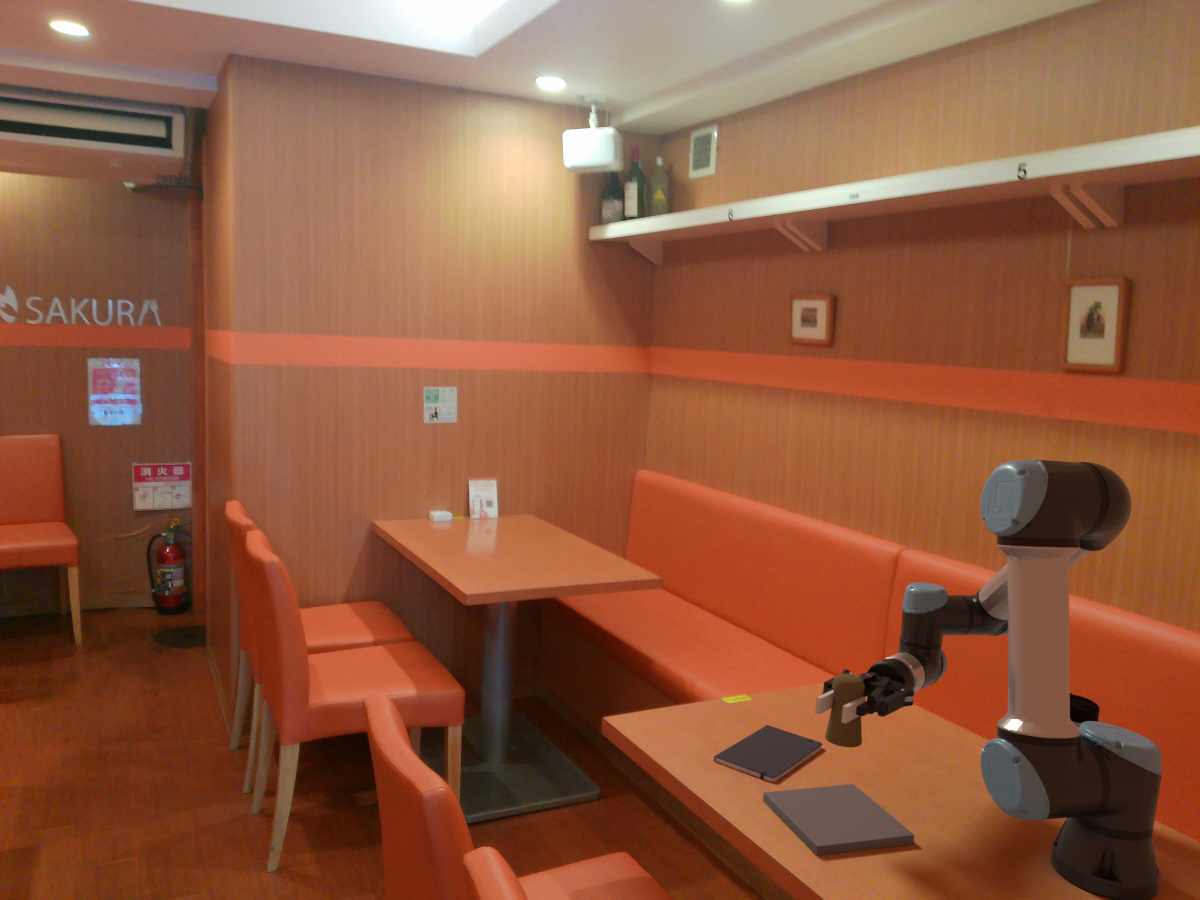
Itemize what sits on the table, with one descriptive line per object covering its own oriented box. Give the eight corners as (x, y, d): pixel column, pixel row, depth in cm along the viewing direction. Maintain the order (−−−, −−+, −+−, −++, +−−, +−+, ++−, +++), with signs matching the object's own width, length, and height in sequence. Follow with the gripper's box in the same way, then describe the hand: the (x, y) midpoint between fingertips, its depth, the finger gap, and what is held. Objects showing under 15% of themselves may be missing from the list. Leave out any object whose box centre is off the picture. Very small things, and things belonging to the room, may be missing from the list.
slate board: (913, 843, 155) (914, 834, 155) (816, 855, 149) (816, 846, 149) (852, 791, 172) (853, 783, 172) (763, 800, 166) (763, 792, 166)
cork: (863, 749, 155) (869, 684, 154) (825, 744, 156) (831, 680, 155) (860, 735, 161) (866, 672, 160) (824, 730, 162) (830, 668, 161)
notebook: (766, 731, 198) (713, 764, 181) (767, 724, 197) (714, 756, 181) (823, 750, 190) (773, 786, 173) (823, 743, 190) (773, 777, 173)
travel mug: (1064, 794, 176) (1077, 690, 174) (1094, 811, 170) (1108, 704, 168) (1039, 798, 174) (1052, 693, 171) (1069, 816, 168) (1083, 707, 165)
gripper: (938, 712, 166) (877, 749, 149) (849, 684, 177) (783, 716, 160) (943, 671, 165) (882, 704, 148) (853, 645, 177) (787, 673, 159)
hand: (831, 710), depth 154 cm, fingers closed on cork, 4 cm apart
